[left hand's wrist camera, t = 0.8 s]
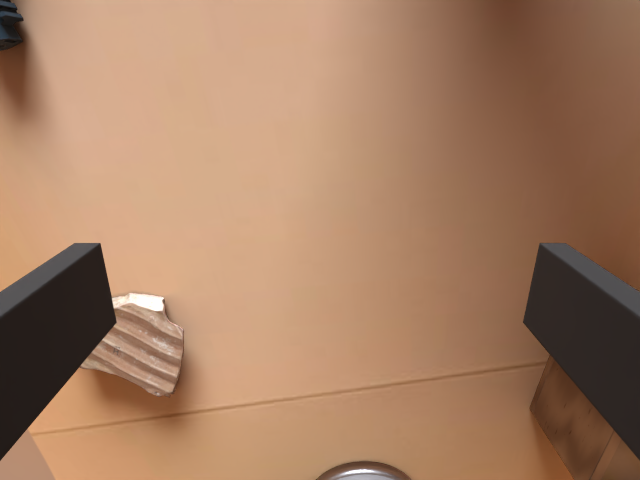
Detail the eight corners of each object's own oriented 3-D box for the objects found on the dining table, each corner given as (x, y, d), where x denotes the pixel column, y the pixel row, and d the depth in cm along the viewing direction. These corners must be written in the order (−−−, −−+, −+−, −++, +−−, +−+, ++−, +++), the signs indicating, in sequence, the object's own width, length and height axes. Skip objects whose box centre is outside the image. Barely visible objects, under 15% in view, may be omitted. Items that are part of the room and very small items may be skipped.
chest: (603, 414, 50) (675, 500, 40) (529, 408, 50) (582, 493, 39) (661, 292, 44) (764, 357, 34) (577, 283, 43) (655, 346, 33)
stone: (196, 305, 44) (189, 318, 42) (178, 389, 48) (171, 405, 46) (75, 274, 43) (61, 285, 40) (68, 363, 47) (54, 378, 45)
